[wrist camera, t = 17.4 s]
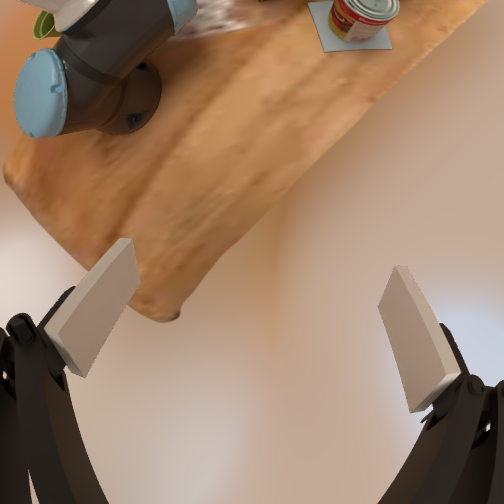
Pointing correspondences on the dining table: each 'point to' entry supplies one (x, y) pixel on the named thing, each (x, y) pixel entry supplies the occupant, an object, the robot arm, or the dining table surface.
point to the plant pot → (45, 26)
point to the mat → (335, 43)
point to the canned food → (360, 18)
